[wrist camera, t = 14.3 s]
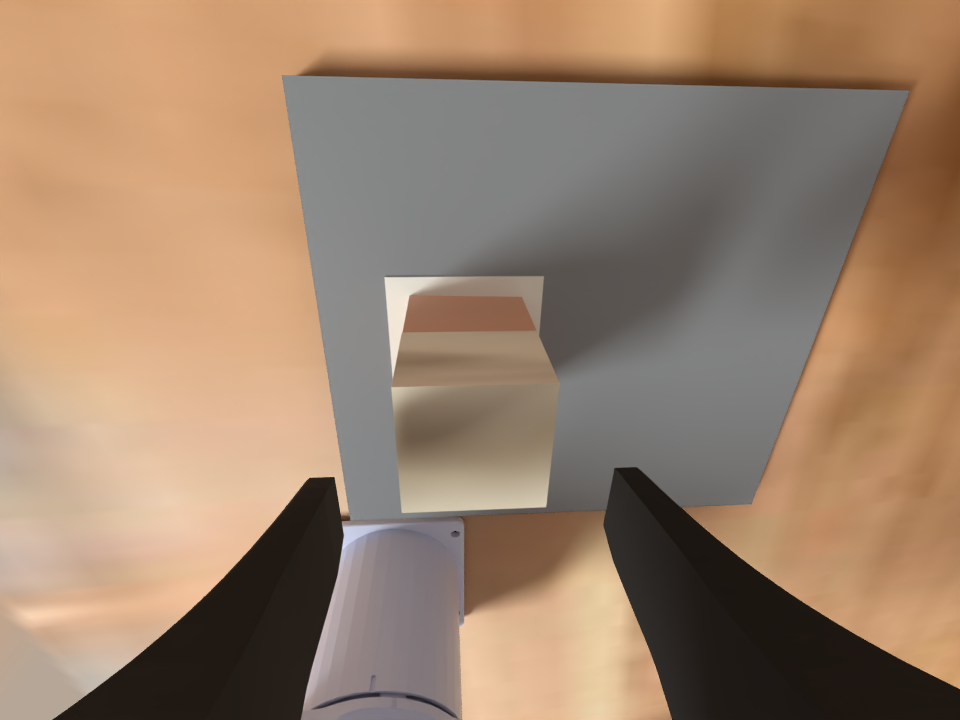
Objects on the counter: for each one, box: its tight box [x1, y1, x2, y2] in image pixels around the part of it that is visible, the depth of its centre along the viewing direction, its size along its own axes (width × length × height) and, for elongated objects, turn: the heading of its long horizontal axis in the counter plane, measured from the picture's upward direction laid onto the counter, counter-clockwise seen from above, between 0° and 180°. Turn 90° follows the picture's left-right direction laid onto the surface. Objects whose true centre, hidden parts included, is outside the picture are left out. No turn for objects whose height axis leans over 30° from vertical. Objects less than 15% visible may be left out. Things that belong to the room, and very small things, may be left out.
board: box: [282, 75, 910, 521], centre depth 21 cm, size 20×22×1 cm
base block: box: [403, 295, 537, 332], centre depth 19 cm, size 5×5×4 cm
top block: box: [391, 331, 560, 513], centre depth 15 cm, size 5×5×4 cm
